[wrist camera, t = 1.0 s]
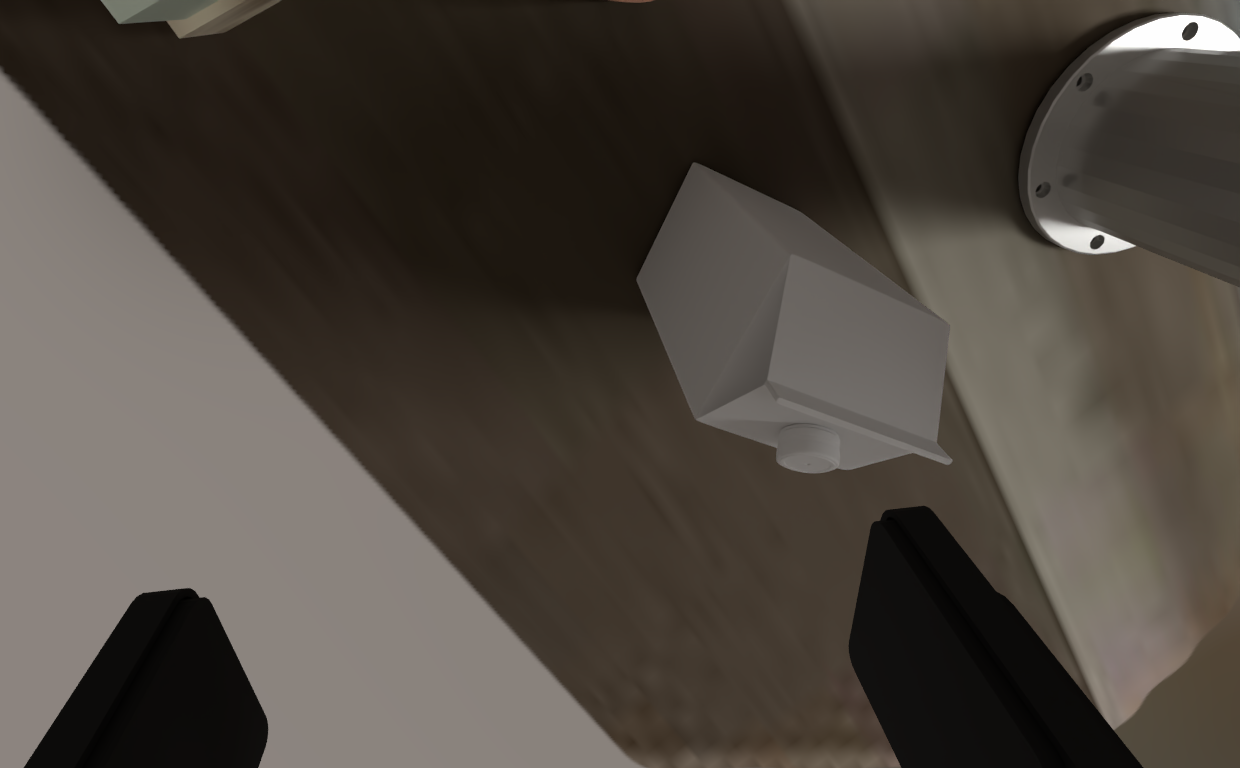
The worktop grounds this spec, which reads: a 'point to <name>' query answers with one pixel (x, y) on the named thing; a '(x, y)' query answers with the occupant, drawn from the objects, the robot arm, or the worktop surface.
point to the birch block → (219, 17)
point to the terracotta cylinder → (634, 0)
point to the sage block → (154, 9)
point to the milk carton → (791, 332)
